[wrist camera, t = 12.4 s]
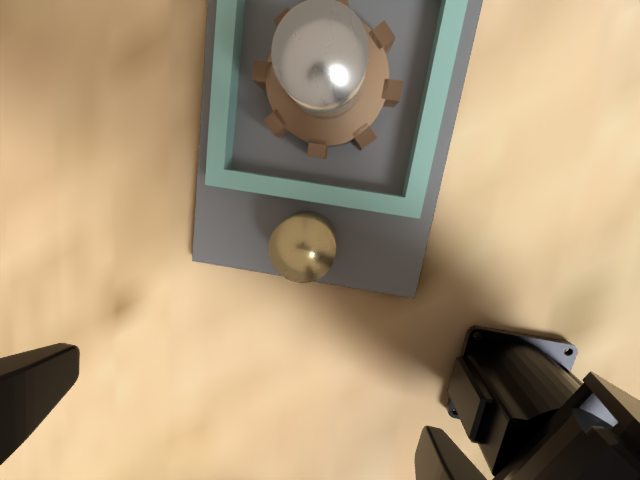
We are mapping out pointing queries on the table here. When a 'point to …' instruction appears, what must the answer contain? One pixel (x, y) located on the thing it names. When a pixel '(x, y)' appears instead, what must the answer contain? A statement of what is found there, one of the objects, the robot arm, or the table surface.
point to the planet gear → (327, 76)
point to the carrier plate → (342, 161)
